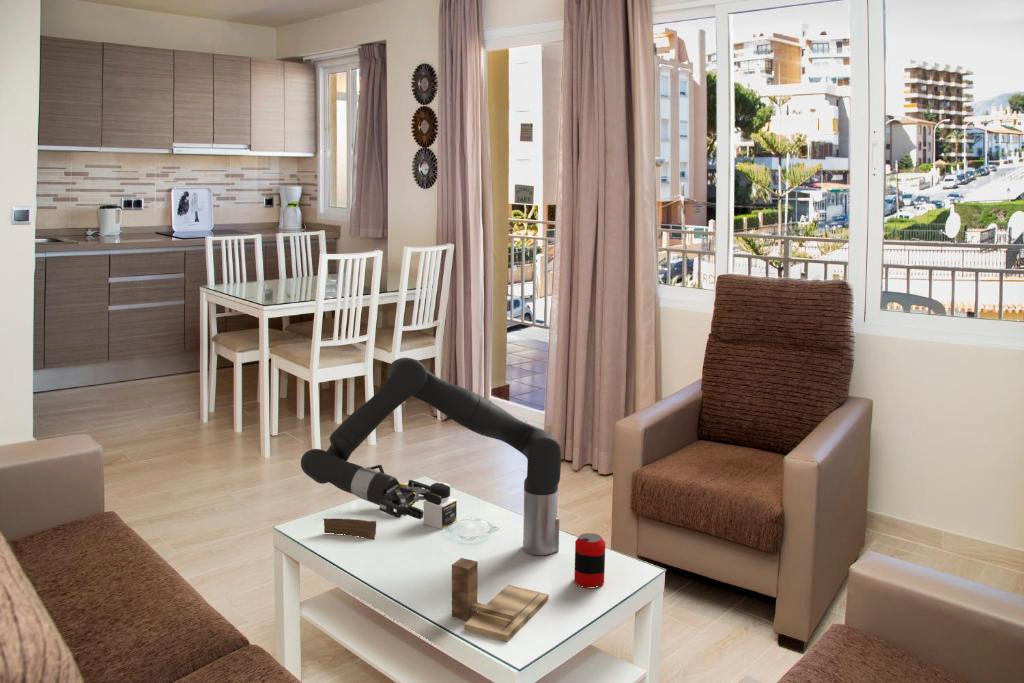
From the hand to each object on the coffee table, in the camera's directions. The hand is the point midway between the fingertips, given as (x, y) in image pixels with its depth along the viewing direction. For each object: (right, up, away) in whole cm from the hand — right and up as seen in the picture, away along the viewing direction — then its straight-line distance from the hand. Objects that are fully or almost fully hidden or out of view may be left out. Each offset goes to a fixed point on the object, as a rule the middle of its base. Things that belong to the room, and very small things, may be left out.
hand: (431, 508), depth 208 cm
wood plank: (-27, -16, +42) cm, 53 cm away
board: (+18, -25, -1) cm, 31 cm away
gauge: (+13, -25, -4) cm, 29 cm away
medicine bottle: (-2, -15, +53) cm, 55 cm away
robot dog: (-18, -12, +64) cm, 68 cm away
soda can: (+39, -22, +16) cm, 47 cm away
